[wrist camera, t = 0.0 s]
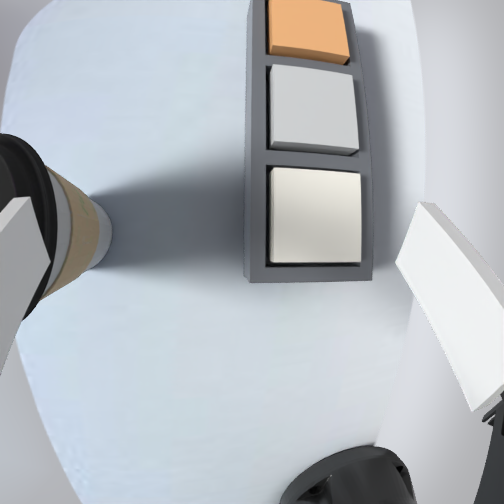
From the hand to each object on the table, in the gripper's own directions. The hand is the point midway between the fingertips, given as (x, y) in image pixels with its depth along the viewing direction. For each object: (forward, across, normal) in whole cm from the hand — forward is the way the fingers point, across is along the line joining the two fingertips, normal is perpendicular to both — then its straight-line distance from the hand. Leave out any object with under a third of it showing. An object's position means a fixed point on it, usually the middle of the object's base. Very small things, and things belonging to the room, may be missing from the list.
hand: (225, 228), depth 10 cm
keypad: (+18, -6, +2) cm, 19 cm away
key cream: (+10, -6, +6) cm, 14 cm away
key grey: (+15, -6, 0) cm, 16 cm away
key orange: (+20, -6, -7) cm, 22 cm away
